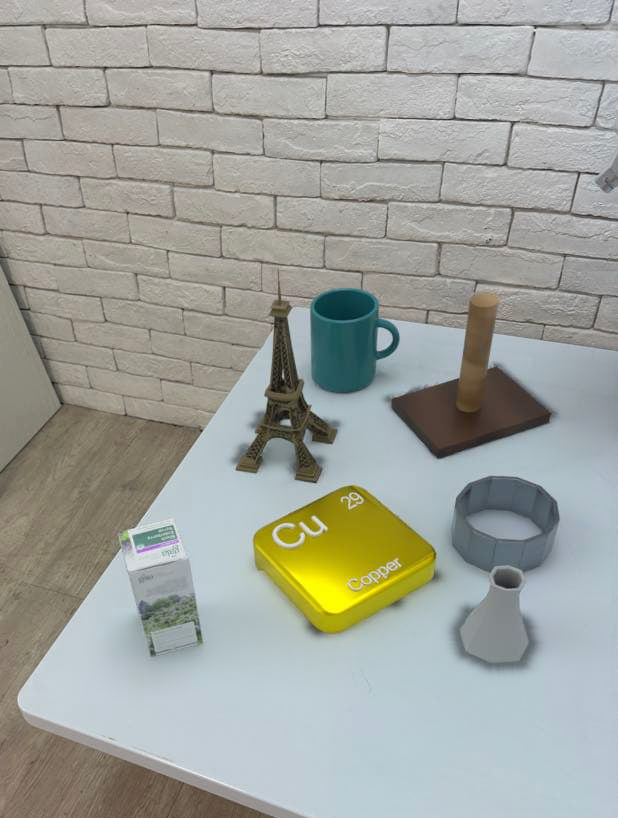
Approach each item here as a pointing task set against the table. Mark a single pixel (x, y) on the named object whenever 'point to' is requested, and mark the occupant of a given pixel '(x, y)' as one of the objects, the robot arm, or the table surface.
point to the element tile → (343, 558)
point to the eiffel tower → (286, 405)
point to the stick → (476, 351)
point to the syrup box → (162, 586)
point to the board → (469, 414)
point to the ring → (514, 498)
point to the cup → (346, 339)
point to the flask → (498, 619)
